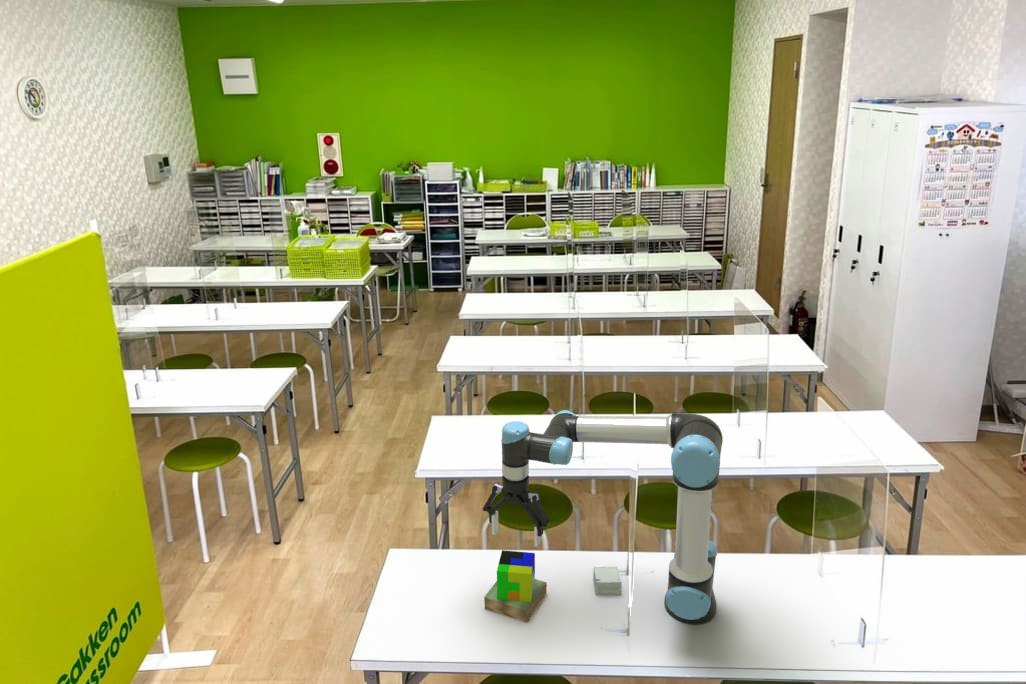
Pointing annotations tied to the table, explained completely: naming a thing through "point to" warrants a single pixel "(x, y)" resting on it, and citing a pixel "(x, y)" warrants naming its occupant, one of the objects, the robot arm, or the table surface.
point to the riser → (516, 602)
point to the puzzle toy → (516, 576)
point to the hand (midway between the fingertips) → (515, 538)
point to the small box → (607, 580)
